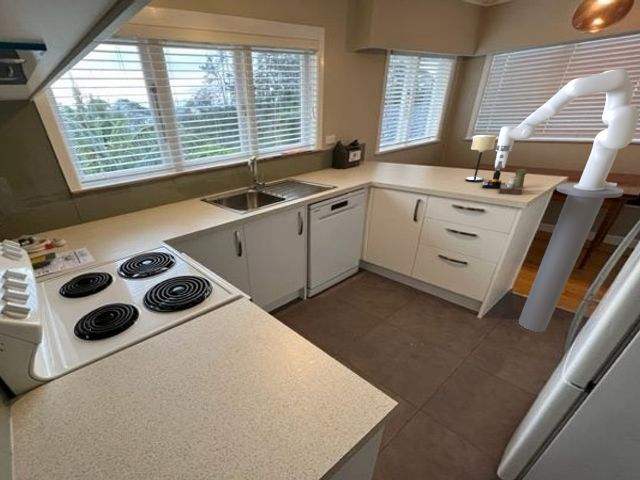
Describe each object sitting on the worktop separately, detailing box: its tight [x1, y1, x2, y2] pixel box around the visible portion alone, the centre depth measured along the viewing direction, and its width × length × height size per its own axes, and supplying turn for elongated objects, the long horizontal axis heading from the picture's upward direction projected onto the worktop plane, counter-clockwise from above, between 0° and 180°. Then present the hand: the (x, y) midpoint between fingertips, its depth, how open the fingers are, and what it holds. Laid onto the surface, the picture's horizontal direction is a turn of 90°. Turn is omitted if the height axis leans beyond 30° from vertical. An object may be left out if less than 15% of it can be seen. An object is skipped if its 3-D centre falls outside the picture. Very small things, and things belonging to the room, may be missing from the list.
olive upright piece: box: [514, 168, 528, 189], centre depth 181 cm, size 6×6×11 cm
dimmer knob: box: [506, 176, 518, 188], centre depth 173 cm, size 4×4×6 cm
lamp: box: [465, 134, 498, 183], centre depth 199 cm, size 12×12×29 cm
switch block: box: [482, 179, 506, 190], centre depth 187 cm, size 11×9×4 cm
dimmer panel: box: [498, 184, 523, 196], centre depth 175 cm, size 10×9×3 cm
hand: (495, 179), depth 186 cm, fingers closed
